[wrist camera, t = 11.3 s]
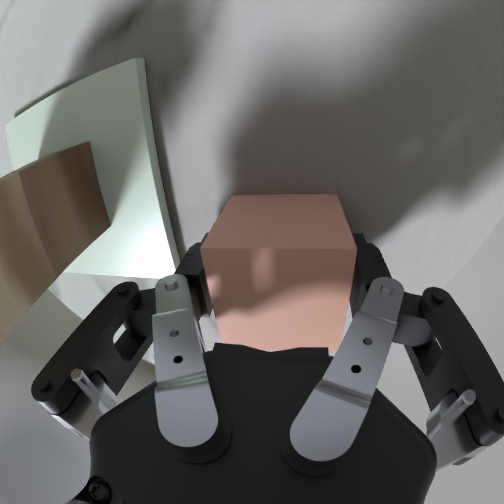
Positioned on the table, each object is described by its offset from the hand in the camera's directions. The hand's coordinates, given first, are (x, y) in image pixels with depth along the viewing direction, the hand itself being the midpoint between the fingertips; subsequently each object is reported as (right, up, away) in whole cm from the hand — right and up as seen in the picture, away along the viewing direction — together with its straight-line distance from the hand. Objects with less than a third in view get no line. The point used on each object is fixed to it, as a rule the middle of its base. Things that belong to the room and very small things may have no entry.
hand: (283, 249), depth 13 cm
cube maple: (-13, +1, -4) cm, 13 cm away
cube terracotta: (0, +1, +1) cm, 1 cm away
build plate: (-12, +4, +1) cm, 13 cm away
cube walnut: (-12, +4, 0) cm, 13 cm away
